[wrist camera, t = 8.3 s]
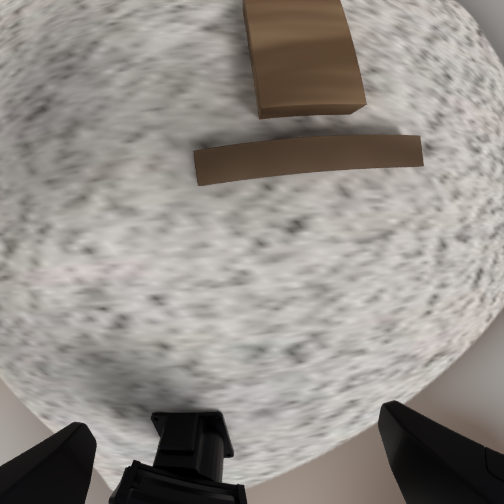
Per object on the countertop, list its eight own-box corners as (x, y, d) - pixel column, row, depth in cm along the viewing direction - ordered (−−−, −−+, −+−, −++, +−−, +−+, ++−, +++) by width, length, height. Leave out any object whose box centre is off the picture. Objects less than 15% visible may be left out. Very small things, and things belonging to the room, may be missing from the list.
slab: (366, 104, 14) (335, -14, 12) (261, 107, 14) (242, -14, 12) (349, 114, 17) (325, 7, 15) (259, 119, 17) (242, 9, 15)
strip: (408, 167, 18) (423, 166, 16) (203, 185, 18) (197, 185, 16) (405, 138, 17) (420, 135, 15) (199, 154, 17) (193, 150, 15)
